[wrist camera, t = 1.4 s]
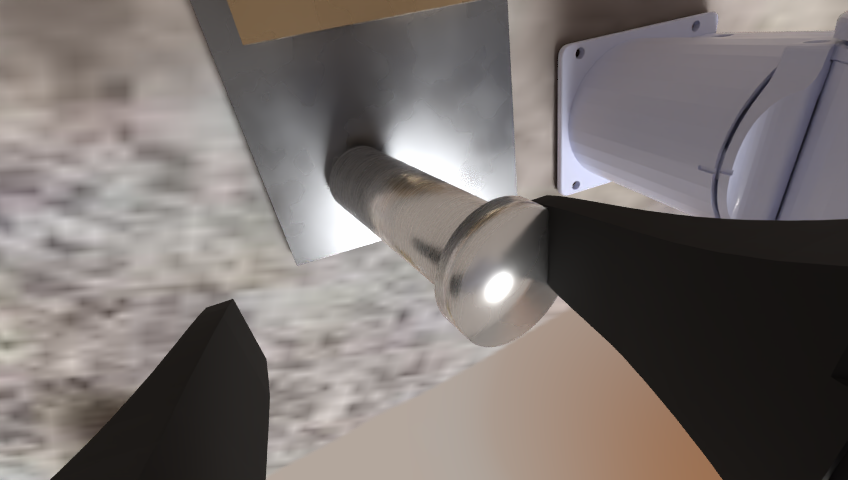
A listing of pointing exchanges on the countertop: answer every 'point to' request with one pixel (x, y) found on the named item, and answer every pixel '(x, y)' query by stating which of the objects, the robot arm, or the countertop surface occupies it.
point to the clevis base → (364, 98)
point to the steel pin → (454, 242)
